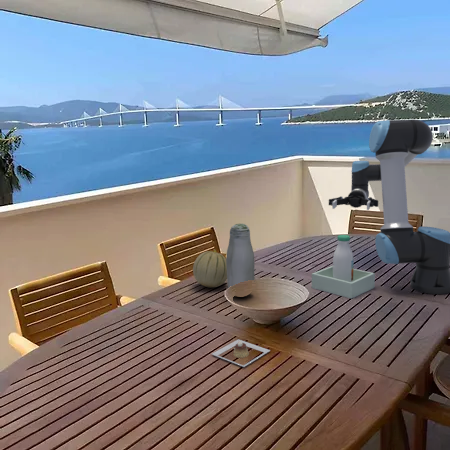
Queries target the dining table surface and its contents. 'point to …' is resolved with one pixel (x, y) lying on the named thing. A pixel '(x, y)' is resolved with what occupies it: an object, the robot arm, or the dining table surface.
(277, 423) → the dining table surface
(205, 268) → the cantaloupe
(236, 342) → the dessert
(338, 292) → the tote
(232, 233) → the glass bottle
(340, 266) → the milk bottle
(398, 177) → the robot arm
